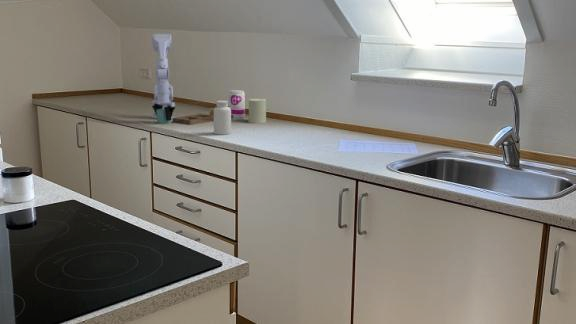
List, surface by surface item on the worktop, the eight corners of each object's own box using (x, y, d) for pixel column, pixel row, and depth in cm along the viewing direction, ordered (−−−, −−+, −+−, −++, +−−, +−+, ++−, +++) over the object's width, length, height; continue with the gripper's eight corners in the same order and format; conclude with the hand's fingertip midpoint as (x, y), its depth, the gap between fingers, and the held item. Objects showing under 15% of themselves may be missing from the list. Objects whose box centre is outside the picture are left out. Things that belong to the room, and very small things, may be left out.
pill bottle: (217, 135, 277) (217, 102, 273) (211, 132, 284) (210, 100, 280) (233, 134, 280) (233, 101, 277) (227, 131, 287) (226, 99, 284)
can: (257, 123, 310) (257, 100, 307) (244, 121, 316) (244, 98, 313) (269, 121, 316) (270, 98, 314) (257, 119, 322) (257, 97, 320)
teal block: (157, 123, 309) (156, 109, 307) (164, 121, 312) (164, 108, 311) (163, 124, 306) (163, 110, 304) (171, 123, 309) (170, 109, 308)
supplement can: (242, 120, 320) (242, 91, 316) (227, 119, 321) (227, 91, 318) (246, 118, 327) (246, 90, 324) (231, 117, 329) (231, 89, 326)
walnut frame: (172, 121, 312) (172, 118, 312) (200, 117, 328) (200, 113, 327) (190, 124, 305) (190, 120, 304) (218, 120, 320) (218, 116, 320)
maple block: (209, 108, 326) (218, 107, 332) (209, 118, 327) (218, 116, 333) (215, 109, 323) (225, 108, 329) (216, 119, 324) (225, 117, 330)
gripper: (147, 92, 307) (148, 119, 310) (166, 94, 298) (167, 122, 301) (158, 91, 312) (159, 117, 315) (177, 93, 304) (178, 120, 307)
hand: (164, 119), depth 309 cm, fingers open, 7 cm apart
